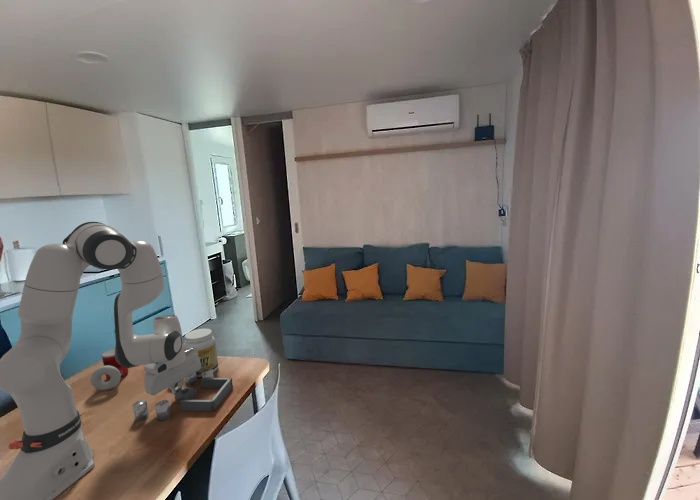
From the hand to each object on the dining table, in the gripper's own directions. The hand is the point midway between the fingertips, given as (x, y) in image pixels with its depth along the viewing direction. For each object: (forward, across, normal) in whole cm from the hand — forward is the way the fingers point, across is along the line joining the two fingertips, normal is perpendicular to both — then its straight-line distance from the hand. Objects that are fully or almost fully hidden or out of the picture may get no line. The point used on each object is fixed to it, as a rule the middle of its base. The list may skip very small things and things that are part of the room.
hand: (177, 392), depth 129 cm
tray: (+2, -5, +11) cm, 12 cm away
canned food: (+2, +1, -39) cm, 39 cm away
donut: (+2, +9, -31) cm, 33 cm away
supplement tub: (+2, -17, -8) cm, 19 cm away
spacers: (+2, 0, 0) cm, 2 cm away
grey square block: (+2, -1, +4) cm, 4 cm away
